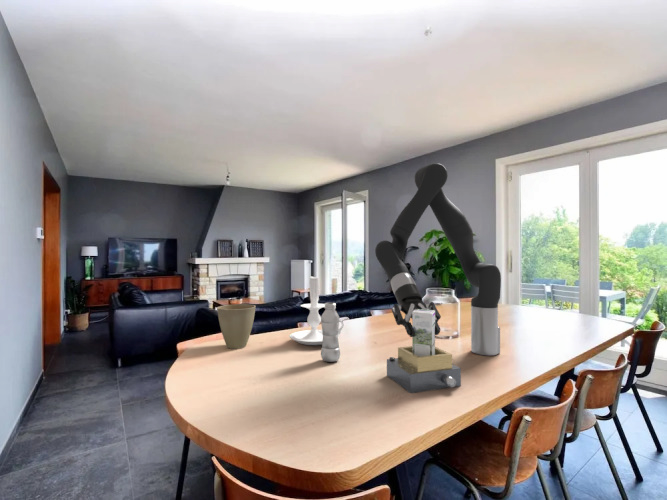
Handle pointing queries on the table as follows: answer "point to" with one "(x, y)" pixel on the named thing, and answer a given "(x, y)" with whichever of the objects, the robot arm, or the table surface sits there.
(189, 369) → the table surface
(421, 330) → the syrup box
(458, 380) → the grey square holder
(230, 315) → the plant pot
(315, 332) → the candlestick
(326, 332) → the plastic bottle
